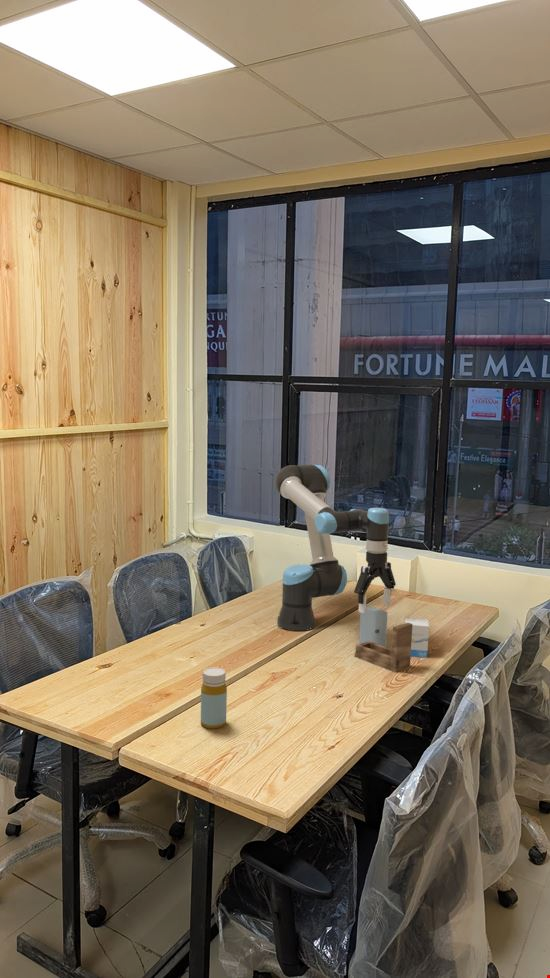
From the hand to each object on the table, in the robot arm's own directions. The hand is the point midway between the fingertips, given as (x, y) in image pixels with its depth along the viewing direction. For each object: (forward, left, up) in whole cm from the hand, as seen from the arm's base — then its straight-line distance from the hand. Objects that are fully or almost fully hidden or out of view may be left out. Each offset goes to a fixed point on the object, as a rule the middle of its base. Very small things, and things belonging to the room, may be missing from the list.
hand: (374, 609), depth 256 cm
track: (+12, -9, -14) cm, 20 cm away
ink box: (+13, +7, -14) cm, 21 cm away
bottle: (+13, -82, -14) cm, 84 cm away
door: (0, 0, -14) cm, 14 cm away
